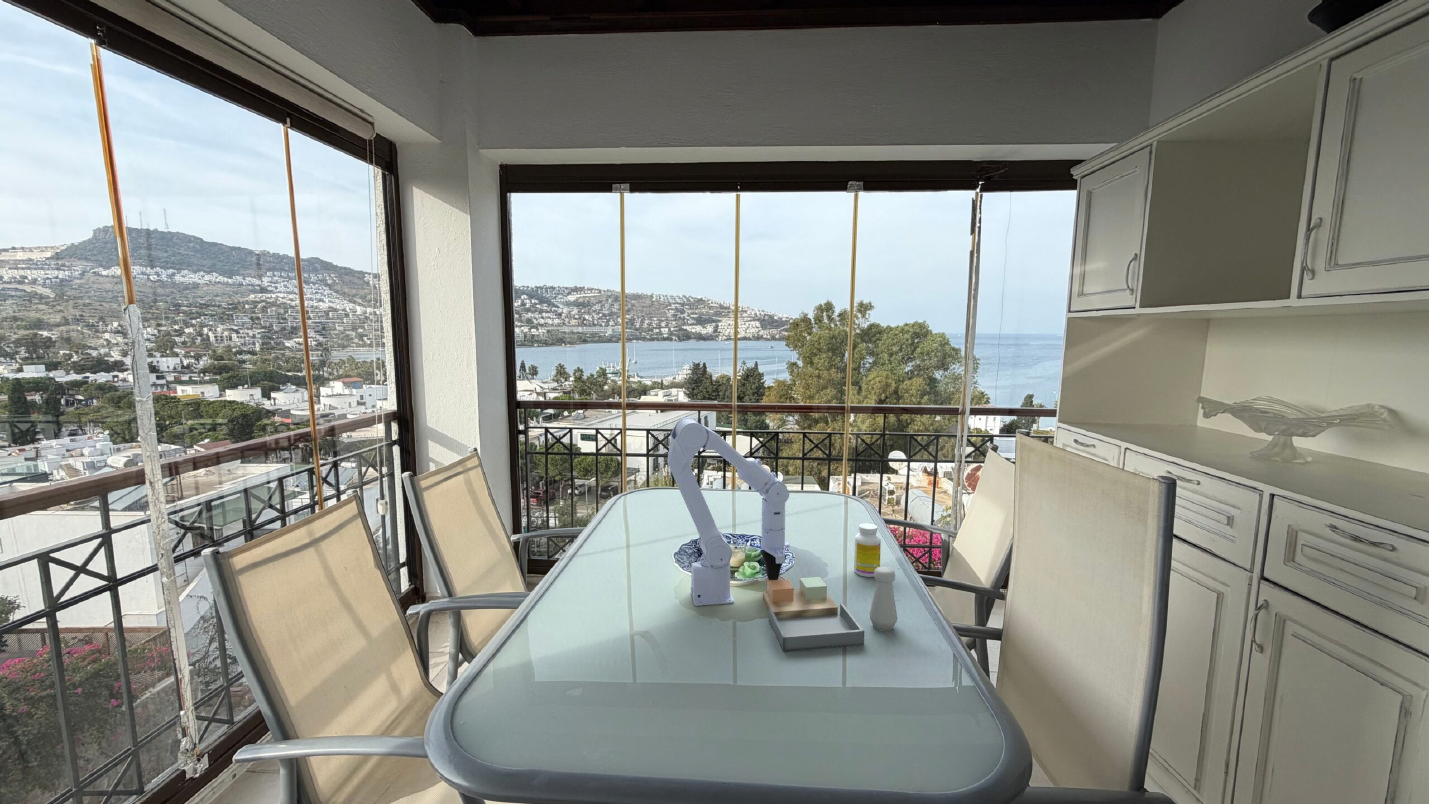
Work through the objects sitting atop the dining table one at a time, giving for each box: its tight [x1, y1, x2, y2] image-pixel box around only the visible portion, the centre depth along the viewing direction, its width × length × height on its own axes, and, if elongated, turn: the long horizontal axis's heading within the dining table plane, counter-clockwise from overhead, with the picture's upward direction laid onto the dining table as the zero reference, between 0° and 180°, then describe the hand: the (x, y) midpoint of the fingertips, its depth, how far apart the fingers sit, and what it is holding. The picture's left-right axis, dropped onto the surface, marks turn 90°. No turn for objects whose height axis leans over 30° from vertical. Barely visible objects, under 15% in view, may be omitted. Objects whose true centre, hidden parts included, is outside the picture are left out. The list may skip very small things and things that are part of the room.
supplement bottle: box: [853, 523, 882, 578], centre depth 147 cm, size 7×7×13 cm
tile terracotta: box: [766, 578, 795, 602], centre depth 130 cm, size 5×5×3 cm
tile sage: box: [799, 576, 828, 600], centre depth 131 cm, size 5×5×3 cm
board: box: [762, 588, 839, 619], centre depth 129 cm, size 15×10×2 cm, turn 98°
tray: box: [768, 602, 865, 653], centre depth 118 cm, size 17×12×3 cm
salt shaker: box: [869, 566, 898, 632], centre depth 120 cm, size 6×6×13 cm
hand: (772, 580), depth 137 cm, fingers closed
